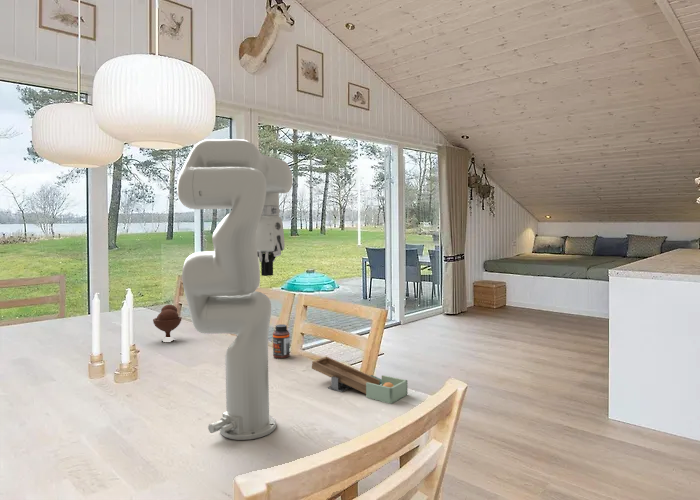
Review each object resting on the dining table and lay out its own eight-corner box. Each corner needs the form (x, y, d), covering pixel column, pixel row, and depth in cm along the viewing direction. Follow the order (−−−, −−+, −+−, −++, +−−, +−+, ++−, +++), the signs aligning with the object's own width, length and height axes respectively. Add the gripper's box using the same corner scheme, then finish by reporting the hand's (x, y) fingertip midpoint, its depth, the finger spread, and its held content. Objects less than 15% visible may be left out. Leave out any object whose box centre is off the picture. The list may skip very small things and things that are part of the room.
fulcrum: (341, 392, 131) (341, 379, 131) (327, 388, 134) (327, 376, 134) (361, 383, 139) (360, 371, 138) (347, 380, 142) (347, 368, 141)
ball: (382, 398, 126) (392, 395, 125) (377, 386, 127) (387, 382, 125) (389, 395, 129) (399, 392, 127) (384, 382, 130) (394, 379, 128)
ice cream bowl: (152, 339, 197) (151, 304, 196) (181, 337, 202) (180, 302, 201) (154, 345, 188) (152, 308, 187) (183, 342, 192) (182, 305, 192)
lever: (365, 393, 128) (367, 386, 128) (311, 368, 140) (312, 361, 139) (385, 384, 136) (387, 376, 136) (332, 360, 148) (333, 354, 147)
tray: (391, 403, 122) (391, 388, 122) (366, 397, 127) (366, 382, 127) (407, 394, 128) (407, 380, 128) (382, 389, 133) (382, 375, 133)
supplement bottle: (269, 357, 168) (269, 326, 167) (279, 353, 173) (279, 323, 172) (283, 359, 165) (282, 327, 164) (293, 355, 170) (292, 324, 170)
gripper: (293, 212, 136) (294, 275, 137) (258, 213, 145) (259, 273, 146) (274, 211, 130) (275, 278, 131) (239, 213, 139) (240, 275, 140)
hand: (267, 275), depth 138 cm, fingers closed
